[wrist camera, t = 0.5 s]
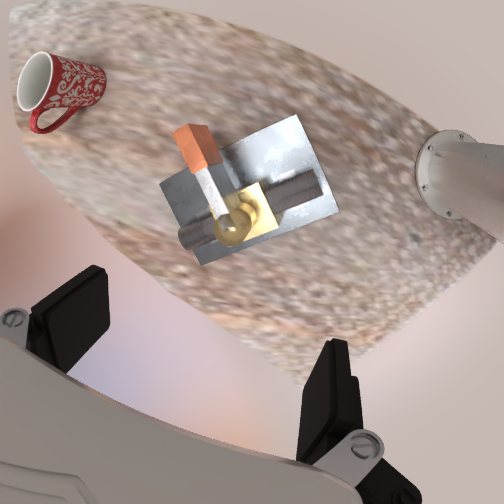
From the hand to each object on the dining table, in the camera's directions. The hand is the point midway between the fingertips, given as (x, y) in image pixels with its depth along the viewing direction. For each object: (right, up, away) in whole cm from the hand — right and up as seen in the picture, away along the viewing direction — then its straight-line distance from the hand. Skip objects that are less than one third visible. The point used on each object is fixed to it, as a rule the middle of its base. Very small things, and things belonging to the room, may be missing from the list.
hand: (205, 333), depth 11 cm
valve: (+1, +11, +30) cm, 32 cm away
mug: (-26, +30, +28) cm, 49 cm away
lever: (-2, +12, +24) cm, 27 cm away
